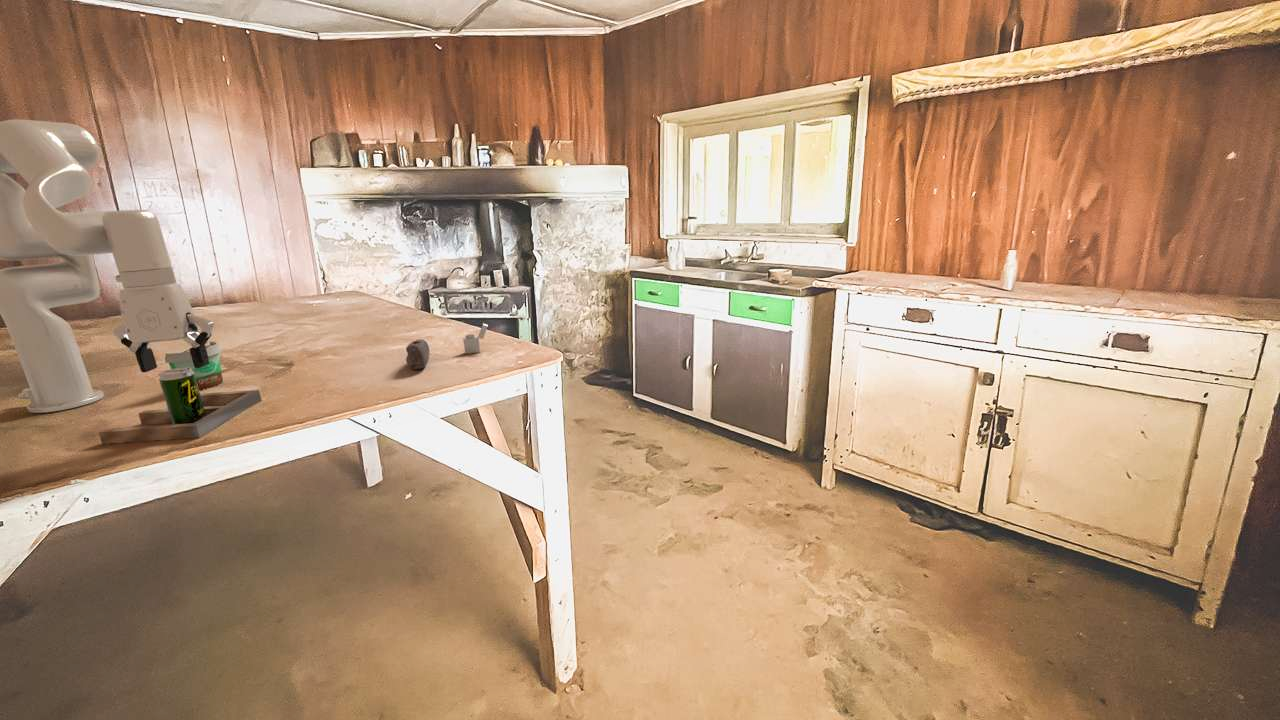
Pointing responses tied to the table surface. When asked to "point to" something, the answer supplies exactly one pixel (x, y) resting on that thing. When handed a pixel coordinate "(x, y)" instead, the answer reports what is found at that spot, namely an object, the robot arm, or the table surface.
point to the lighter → (474, 341)
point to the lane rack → (212, 420)
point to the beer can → (182, 395)
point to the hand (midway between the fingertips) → (176, 368)
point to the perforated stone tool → (417, 354)
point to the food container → (204, 375)
